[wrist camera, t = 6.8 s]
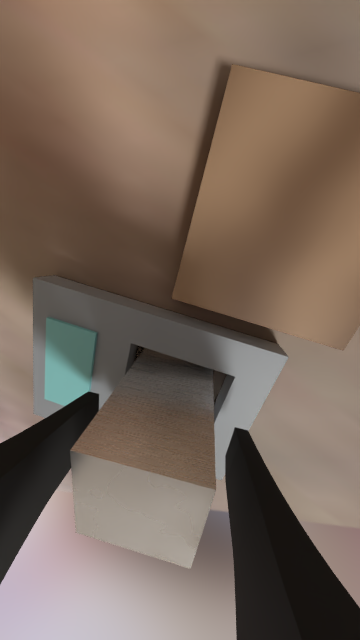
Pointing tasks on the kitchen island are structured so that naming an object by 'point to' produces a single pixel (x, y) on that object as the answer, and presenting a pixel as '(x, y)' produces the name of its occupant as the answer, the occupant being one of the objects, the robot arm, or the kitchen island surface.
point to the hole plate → (121, 345)
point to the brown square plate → (280, 210)
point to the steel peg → (149, 461)
